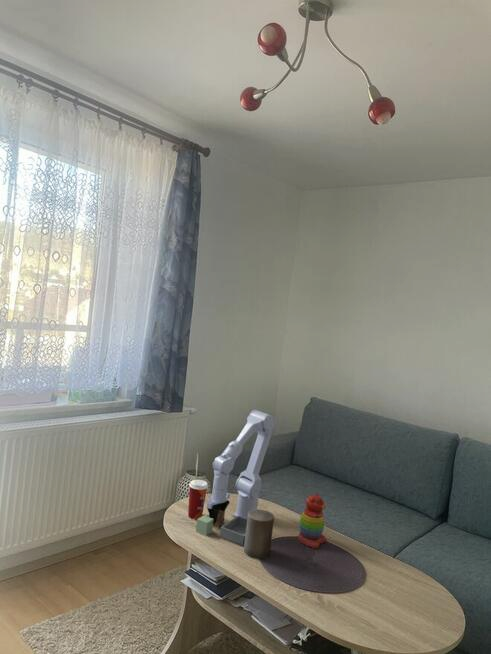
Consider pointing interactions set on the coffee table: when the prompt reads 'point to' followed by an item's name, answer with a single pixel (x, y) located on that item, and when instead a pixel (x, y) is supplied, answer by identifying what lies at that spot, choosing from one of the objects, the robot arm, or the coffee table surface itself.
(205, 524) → the sage block
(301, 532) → the stacking bear
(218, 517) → the walnut block
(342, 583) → the coffee table surface
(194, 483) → the paper cup
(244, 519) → the tray
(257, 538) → the pillar candle
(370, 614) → the coffee table surface
